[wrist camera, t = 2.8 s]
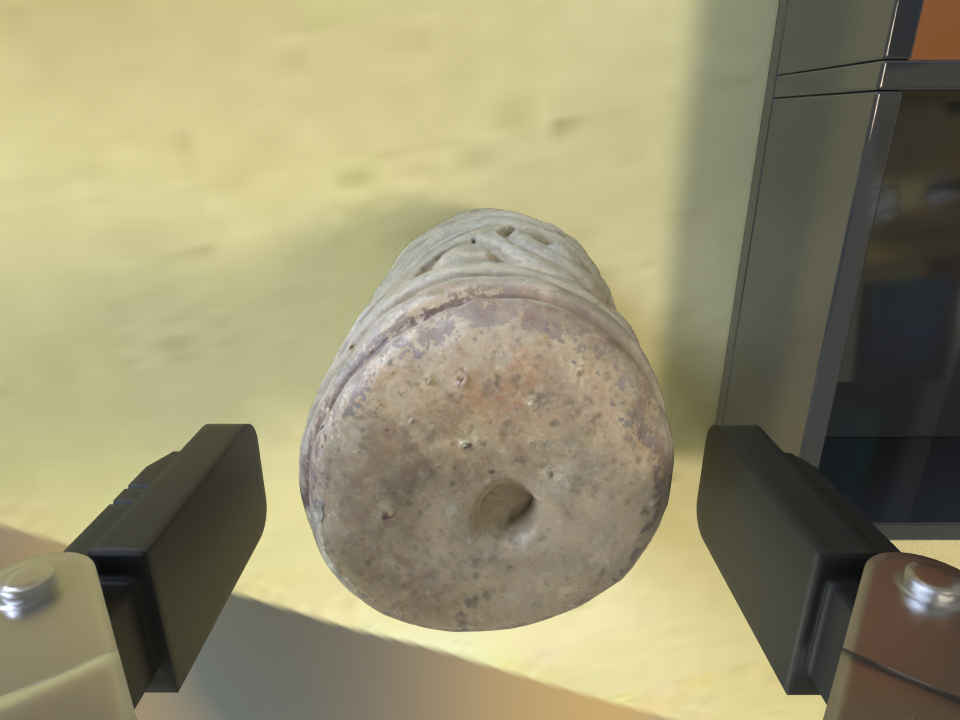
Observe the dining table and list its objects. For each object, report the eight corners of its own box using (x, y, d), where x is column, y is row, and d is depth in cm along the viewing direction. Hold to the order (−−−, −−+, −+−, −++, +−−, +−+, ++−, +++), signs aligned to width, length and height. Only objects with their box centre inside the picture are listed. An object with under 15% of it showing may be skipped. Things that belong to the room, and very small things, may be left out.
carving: (612, 223, 20) (790, 358, 8) (532, 424, 22) (585, 732, 11) (421, 157, 19) (338, 210, 8) (360, 373, 22) (232, 647, 10)
